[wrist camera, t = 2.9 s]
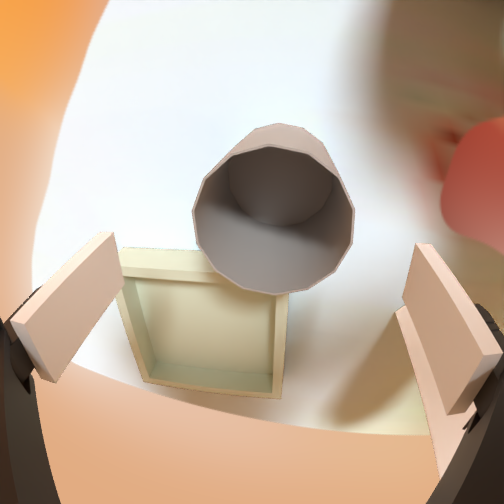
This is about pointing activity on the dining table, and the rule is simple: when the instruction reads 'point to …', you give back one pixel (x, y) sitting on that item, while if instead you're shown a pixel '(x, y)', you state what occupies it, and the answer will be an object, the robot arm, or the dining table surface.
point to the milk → (433, 398)
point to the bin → (200, 325)
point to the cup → (274, 212)
